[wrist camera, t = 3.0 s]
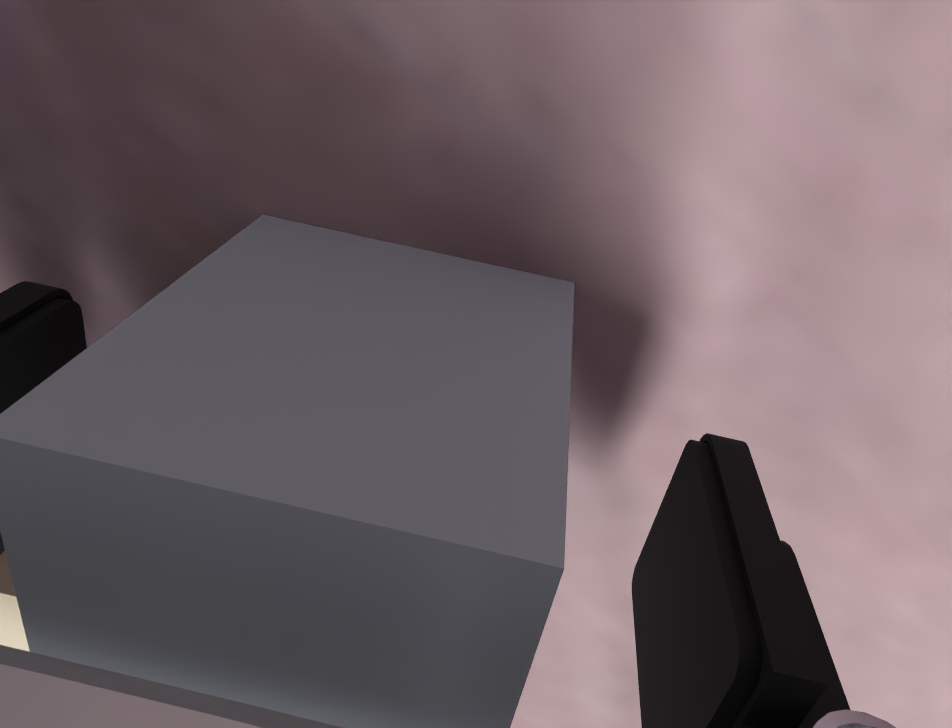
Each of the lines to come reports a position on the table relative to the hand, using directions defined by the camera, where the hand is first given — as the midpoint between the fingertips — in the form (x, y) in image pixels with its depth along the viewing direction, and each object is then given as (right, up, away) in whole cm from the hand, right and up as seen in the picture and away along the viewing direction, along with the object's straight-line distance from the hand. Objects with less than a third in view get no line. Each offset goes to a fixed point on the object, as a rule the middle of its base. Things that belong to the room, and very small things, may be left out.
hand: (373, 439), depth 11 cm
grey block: (0, +1, +2) cm, 2 cm away
